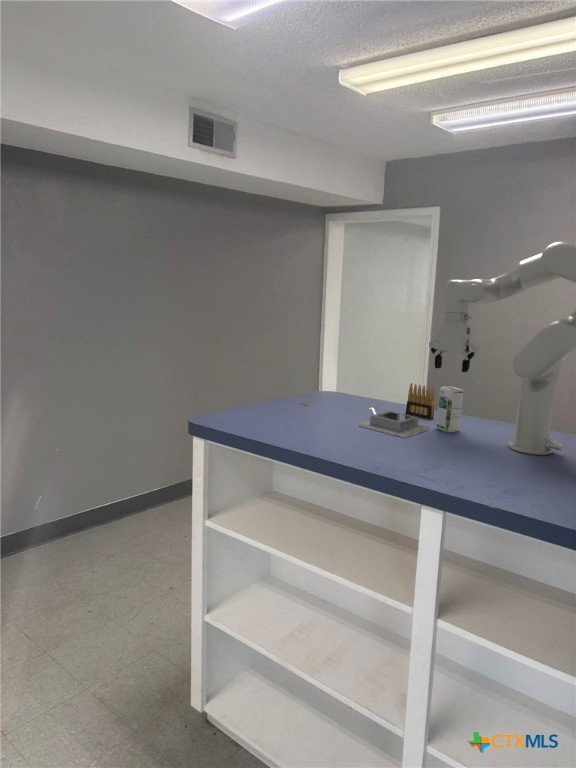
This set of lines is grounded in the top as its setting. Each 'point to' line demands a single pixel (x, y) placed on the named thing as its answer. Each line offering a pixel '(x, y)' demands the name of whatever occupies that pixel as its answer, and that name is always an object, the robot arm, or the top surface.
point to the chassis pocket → (394, 424)
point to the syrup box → (449, 409)
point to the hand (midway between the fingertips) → (451, 369)
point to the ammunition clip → (420, 402)
